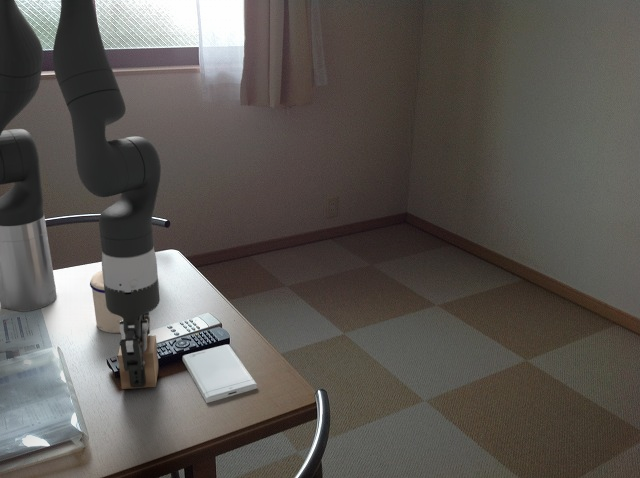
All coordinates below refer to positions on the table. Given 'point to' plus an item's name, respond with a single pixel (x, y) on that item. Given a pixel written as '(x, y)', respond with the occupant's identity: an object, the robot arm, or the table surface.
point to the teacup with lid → (103, 306)
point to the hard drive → (218, 373)
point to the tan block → (149, 365)
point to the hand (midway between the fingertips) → (140, 374)
